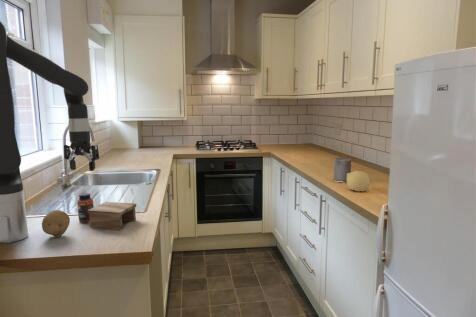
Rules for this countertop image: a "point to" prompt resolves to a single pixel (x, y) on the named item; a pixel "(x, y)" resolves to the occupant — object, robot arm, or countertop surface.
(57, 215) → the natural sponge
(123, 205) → the walnut shelf
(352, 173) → the tan rounded lump
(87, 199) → the supplement bottle
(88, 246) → the countertop surface
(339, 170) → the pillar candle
